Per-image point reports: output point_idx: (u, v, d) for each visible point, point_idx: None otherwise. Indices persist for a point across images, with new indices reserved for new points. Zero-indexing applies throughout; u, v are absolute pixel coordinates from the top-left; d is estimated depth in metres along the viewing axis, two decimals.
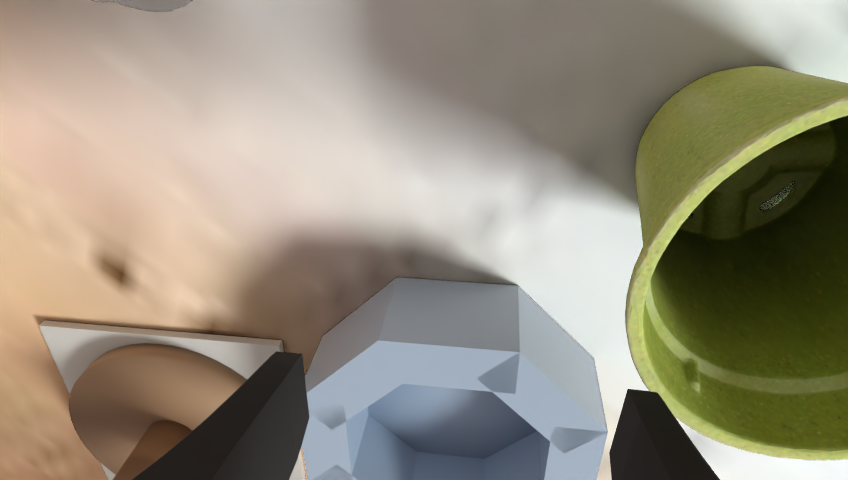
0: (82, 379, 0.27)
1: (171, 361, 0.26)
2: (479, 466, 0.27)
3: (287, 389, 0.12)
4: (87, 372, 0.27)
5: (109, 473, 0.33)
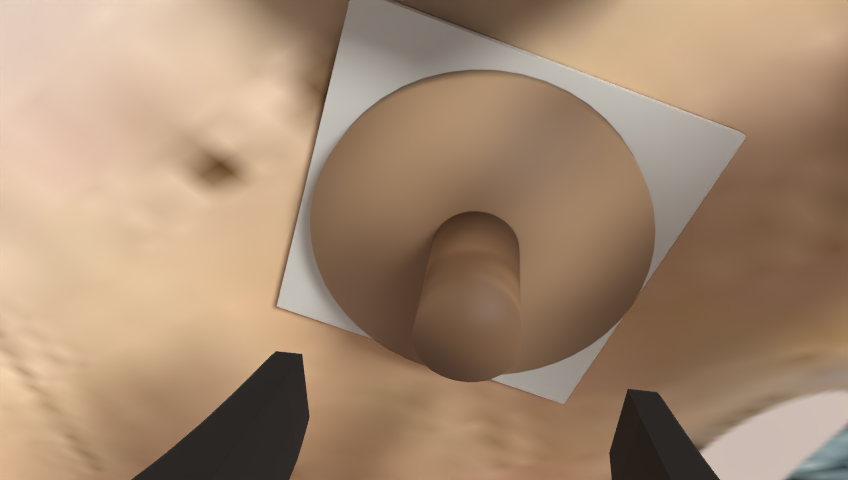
0: (340, 299, 0.20)
1: (325, 162, 0.17)
2: None
3: (287, 389, 0.12)
4: (329, 287, 0.20)
5: (541, 391, 0.22)
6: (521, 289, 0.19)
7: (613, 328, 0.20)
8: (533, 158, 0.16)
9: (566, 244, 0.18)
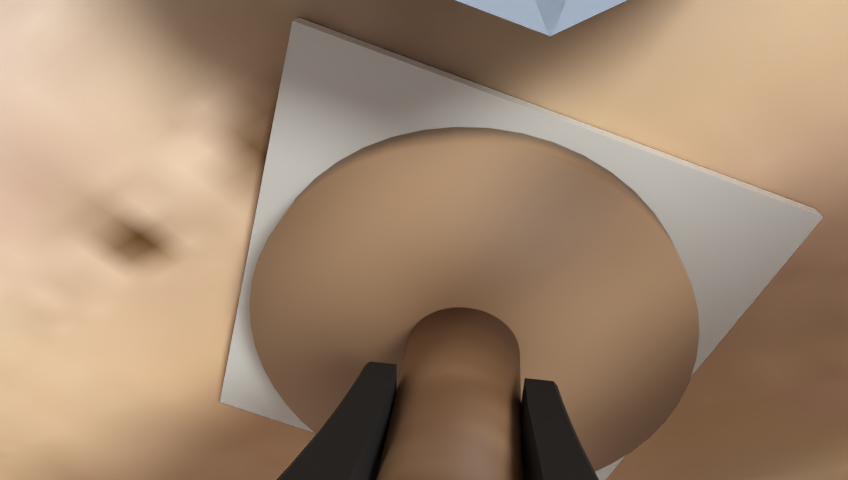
0: (293, 405, 0.16)
1: (264, 245, 0.13)
2: None
3: (388, 401, 0.11)
4: (279, 390, 0.16)
5: None
6: None
7: None
8: (538, 245, 0.12)
9: (581, 349, 0.14)
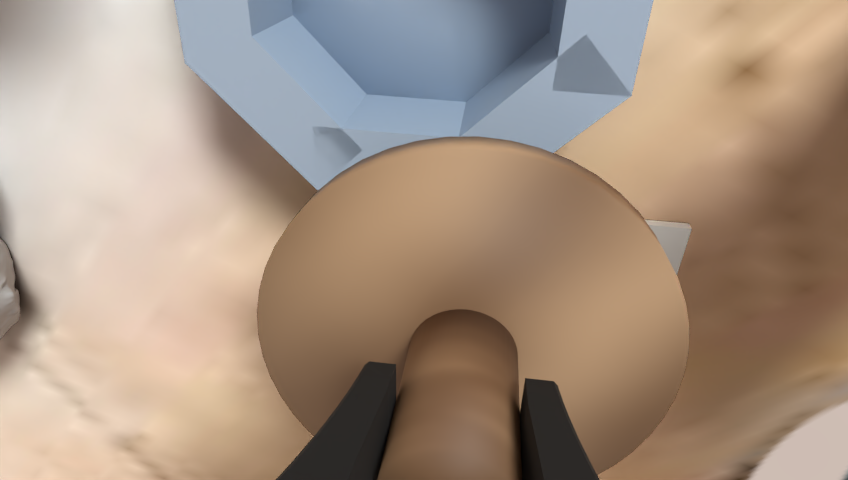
0: (300, 414, 0.16)
1: (271, 254, 0.14)
2: None
3: (387, 401, 0.11)
4: (287, 400, 0.16)
5: None
6: None
7: None
8: (529, 245, 0.13)
9: (576, 347, 0.14)
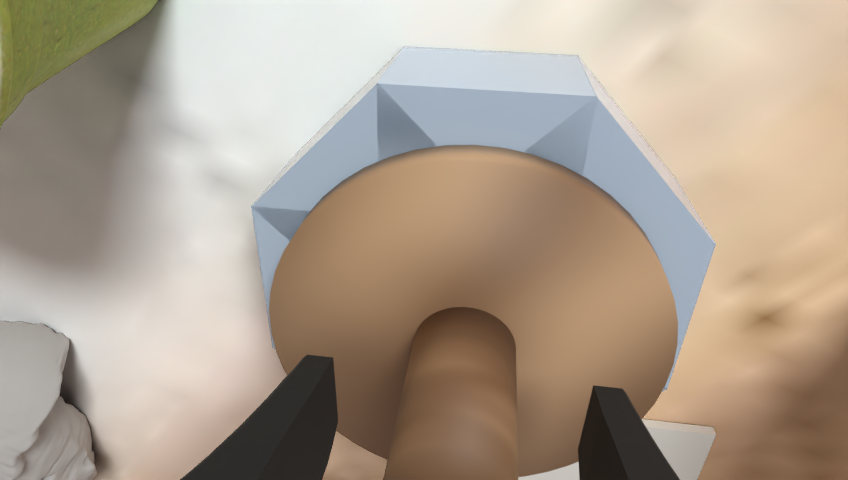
0: None
1: None
2: None
3: (320, 393, 0.12)
4: None
5: None
6: (521, 389, 0.16)
7: None
8: (525, 247, 0.14)
9: (571, 340, 0.15)
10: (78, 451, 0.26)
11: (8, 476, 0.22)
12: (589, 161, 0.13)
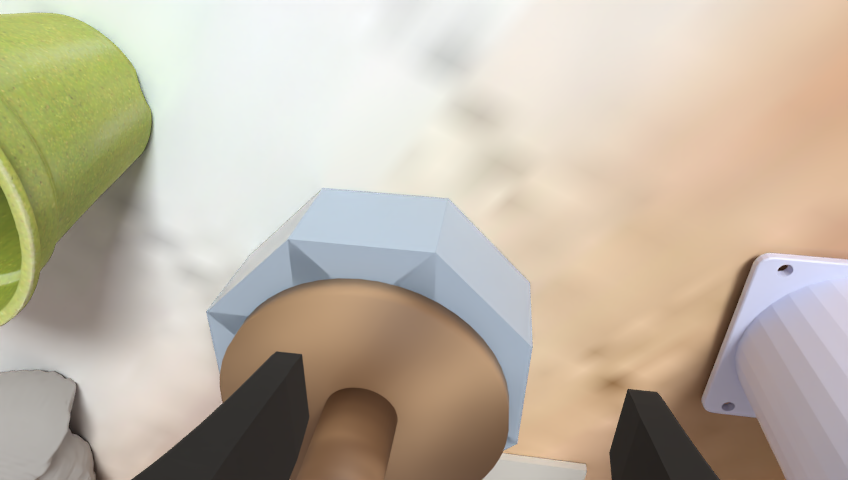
0: None
1: (226, 351, 0.21)
2: None
3: (287, 389, 0.12)
4: None
5: None
6: (405, 444, 0.22)
7: None
8: (393, 350, 0.19)
9: (435, 412, 0.21)
10: (82, 473, 0.31)
11: None
12: (437, 292, 0.19)
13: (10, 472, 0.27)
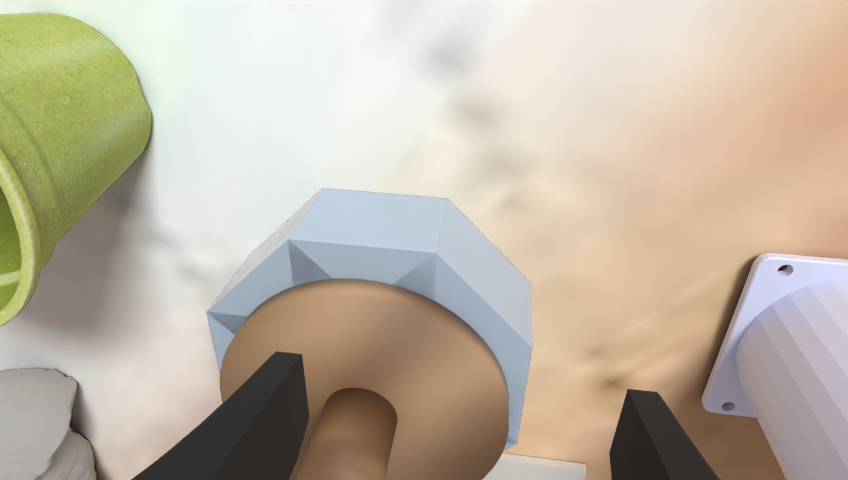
0: None
1: (226, 351, 0.21)
2: None
3: (287, 389, 0.12)
4: None
5: None
6: (405, 444, 0.22)
7: None
8: (393, 350, 0.19)
9: (435, 412, 0.21)
10: (83, 471, 0.31)
11: None
12: (437, 292, 0.19)
13: (11, 471, 0.27)
